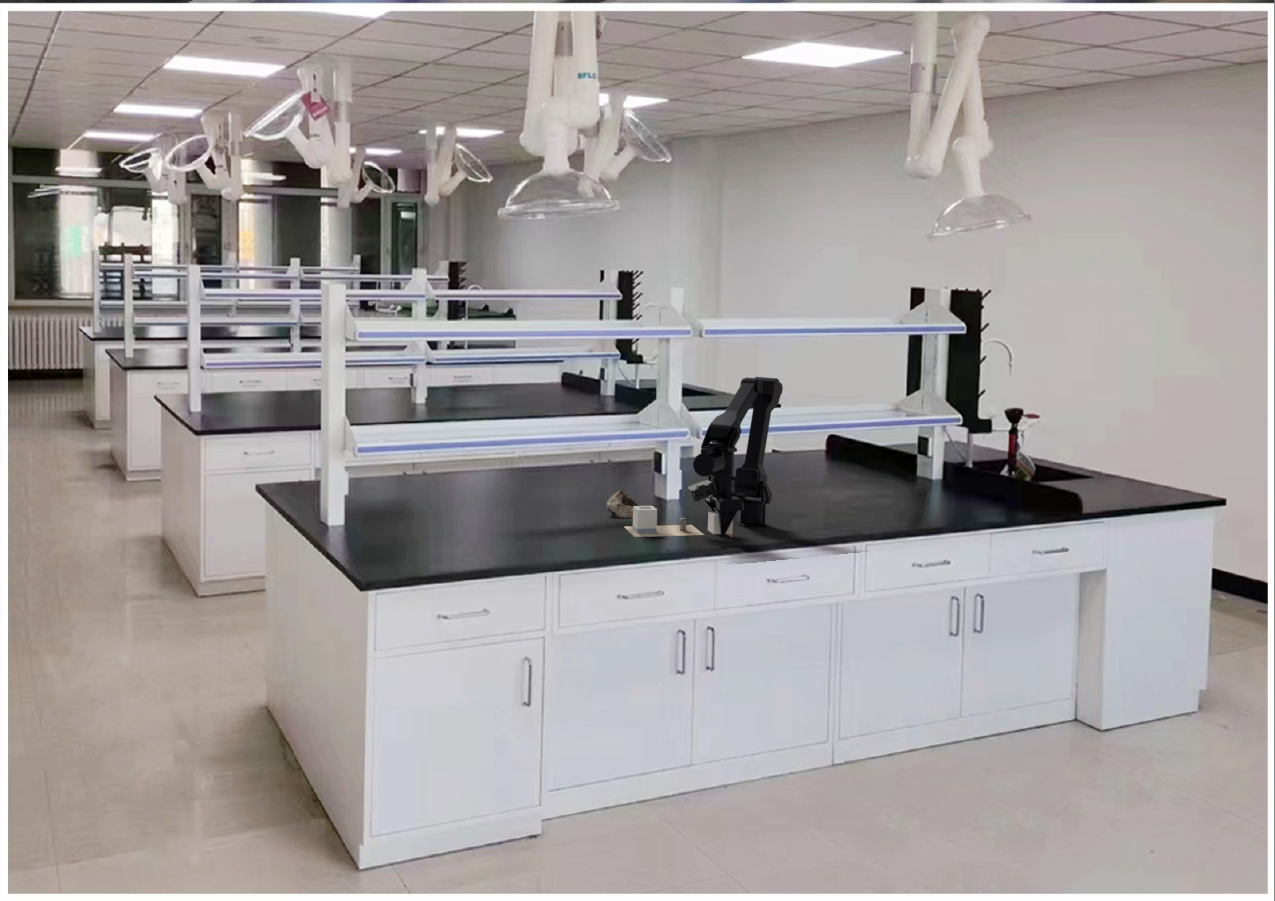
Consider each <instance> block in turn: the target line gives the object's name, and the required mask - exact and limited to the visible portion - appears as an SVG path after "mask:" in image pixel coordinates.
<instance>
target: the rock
mask: <svg viewBox="0 0 1275 901" xmlns="http://www.w3.org/2000/svg"><path fill="white" fill-rule="evenodd" d="M606 506H607V507H606V508H607V511H608V512H610V515H611V516H612V517H619V518H625V519H627V518H633V506H640V505H639V504H638V503H636V501H634V500H633V498H632V496H630V495H629V494H628V493H627V492H626V490H625V489H623V488H622V489H619V490H618V491H616V492H615V493H613V494H612V496H610V497H609V499H608V500H607V502H606Z"/></svg>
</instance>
